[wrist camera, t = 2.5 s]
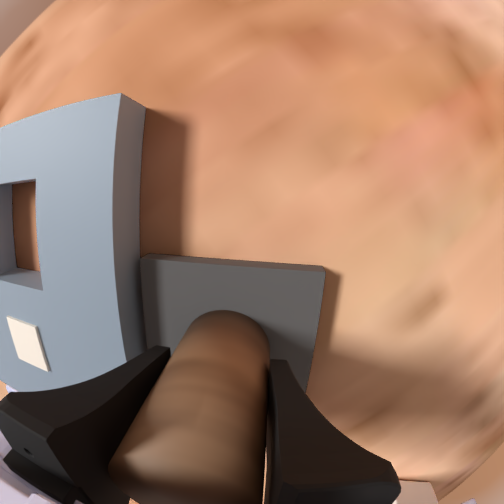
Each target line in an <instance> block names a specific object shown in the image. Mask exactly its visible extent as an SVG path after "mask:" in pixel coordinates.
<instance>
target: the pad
mask: <svg viewBox="0 0 504 504" xmlns="http://www.w3.org/2000/svg"><path fill="white" fill-rule="evenodd" d="M140 265H141V284H142V298H143V310H144V321H145V330H146V339H147V347H148V349H150V348H152V347H154V346H156V345H159V346H165V347H170V351H171V356H172V354H173V352H174V351H175V349H176V347H177V346H178V344H179V342H180V341H181V339H182V337H183V336H184V334H185V332H186V331H187V329H188V327H189V326H190V324H191V323H192V322H193V321H194V320H195V319H196V318H198V317H199V316H200V315H202V314H204V313H207V312H210V311H215V310H230V311H235V312H239V313H242V314H244V315H246V316H248V317H250V318H251V319H253V320H254V321H255V322H257V323H258V324H259V325H260V326H261V328H262V329H263V330H264V332H265V333H266V335H267V337H268V340H269V344H270V359H283V360H287V361H288V363H289V365H290V368H291V370H292V372H293V374H294V376H295V377H296V379H297V381H298V383H299V384H300V386H301V387H302V389H303V391H304V392H305V393H306V388H307V383H308V378H309V373H310V368H311V363H312V358H313V352H314V347H315V341H316V335H317V329H318V323H319V317H320V310H321V303H322V296H323V289H324V282H325V274H326V272H325V270H324V269H323V267H322V266H316V265H301V264H286V263H272V262H258V261H244V260H230V259H216V258H203V257H190V256H177V255H164V254H151V253H149V254H147V255H145V256H143V257H142V258H140ZM269 367H270V365H269Z"/></svg>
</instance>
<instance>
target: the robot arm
mask: <svg viewBox="0 0 504 504" xmlns="http://www.w3.org/2000/svg"><path fill="white" fill-rule="evenodd" d="M170 357H171V351H170V347H165V346H159V345H156V346H154V347H152V348H150V349H148V350H147V351H145V352H143V353H142V354H140V355H138V356H137V357H135V358H133V359H131V360H130V361H128V362H126V363H124V364H122V365H121V366H119V367H117V368H115V369H112V370H110V371H108V372H106V373H104V374H102V375H100V376H97V377H95V378H92V379H90V380H87V381H84V382H81V383H78V384H74V385H70V386H66V387H62V388H57V389H51V390H44V391H33V392H19V391H17V390H15V389H14V388H12V387H10V386H9V385H6V389H7V391H8V393H9V394H8V395H6V396H5V397H4V398H3V399H2V400H1V401H0V504H129V500H130V497H129V496H127V495H126V494H125V493H124V492H123V491H122V490H121V489H119V488H118V486H117V485H116V484H115V483H114V482H113V480H112V479H111V477H110V475H109V472H108V465H109V462H110V460H111V459H112V457H113V455H114V453H115V452H116V450H117V448H118V446H119V445H120V443H121V441H122V439H123V438H124V436H125V434H126V432H127V431H128V429H129V427H130V425H131V424H132V422H133V420H134V419H135V417H136V415H137V413H138V412H139V410H140V408H141V407H142V405H143V403H144V401H145V400H146V398H147V396H148V395H149V393H150V391H151V389H152V388H153V386H154V384H155V383H156V381H157V379H158V378H159V376H160V374H161V373H162V371H163V369H164V367H165V366H166V364H167V362H168V361H169V359H170ZM266 454H267V473H266V487H265V499H264V504H392V503H393V502H394V501H395V500H396V499H397V497H398V496H399V494H400V493H401V485H400V482H399V479H398V476H397V474H396V472H395V470H394V468H393V466H392V464H391V462H389V461H387V460H385V459H383V458H381V457H379V456H377V455H375V454H373V453H371V452H369V451H367V450H365V449H364V448H362V447H361V446H359V445H358V444H356V443H354V442H353V441H352V440H350V439H349V438H348V437H346V436H345V435H344V434H342V433H341V432H340V431H339V430H337V429H336V428H335V427H334V426H333V425H332V424H331V423H330V422H329V421H328V420H327V419H326V418H325V417H324V416H323V415H322V414H321V413H320V412H319V411H318V409H317V408H316V407H315V406H314V404H313V403H312V402H311V401H310V399H309V398H308V396H307V395H306V394H305V392H304V391H303V389H302V387H301V386H300V384H299V383H298V381H297V379H296V377H295V376H294V374H293V372H292V370H291V368H290V365H289V363H288V361H287V360H283V359H270V367H269V382H268V414H267V434H266ZM461 504H477V503H476V501H475V499H474V498H472V499H470V500H468V501H466V502H463V503H461Z"/></svg>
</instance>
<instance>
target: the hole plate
mask: <svg viewBox="0 0 504 504" xmlns="http://www.w3.org/2000/svg"><path fill="white" fill-rule="evenodd" d="M145 112H146V107H144V106H143V105H141V104H139V103H138V102H136V101H134V100H132V99H131V98H129V97H127V96H125V95H124V94H122V93H118V94H113V95H108V96H103V97H98V98H94V99H89V100H85V101H81V102H77V103H73V104H69V105H65V106H62V107H58V108H55V109H51V110H48V111H45V112H42V113H39V114H36V115H33V116H30V117H27V118H24V119H21V120H19V121H16V122H13V123H11V124H8V125H6V126H3V127H1V128H0V380H1V381H2V382H4V383H6V384H7V385H9V386H10V387H12V388H14V389H15V390H17V391H19V392H33V391H44V390H51V389H57V388H62V387H66V386H70V385H74V384H78V383H81V382H84V381H87V380H90V379H92V378H95V377H97V376H100V375H102V374H104V373H106V372H108V371H110V370H112V369H115V368H117V367H119V366H121V365H122V364H124V363H126V362H128V361H130V360H131V359H133V358H135V357H137V356H138V355H140V354H142V353H143V352H145V351H147V350H148V347H147V339H146V330H145V321H144V310H143V298H142V284H141V266H140V227H139V214H140V175H141V157H142V143H143V132H144V122H145ZM34 181H36V228H37V243H38V254H39V263H40V271H41V272H39V271H33V270H28V269H22V268H17V265H16V257H15V247H14V236H13V219H12V184H18V183H26V182H34Z"/></svg>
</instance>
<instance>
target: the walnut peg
mask: <svg viewBox="0 0 504 504" xmlns="http://www.w3.org/2000/svg"><path fill="white" fill-rule="evenodd" d="M269 365H270V344H269V340H268V337H267V335H266V333H265V332H264V330H263V329H262V328H261V326H260V325H259V324H258V323H257V322H255V321H254V320H253V319H251V318H250V317H248V316H246V315H244V314H242V313H239V312H235V311H230V310H215V311H210V312H207V313H204V314H202V315H200V316H199V317H198V318H196V319H195V320H194V321H193V322H192V323H191V324H190V326H189V327H188V329H187V331H186V332H185V334H184V336H183V337H182V339H181V341H180V342H179V344H178V346H177V347H176V349H175V351H174V352H173V354H172V356H171V357H170V359H169V361H168V362H167V364H166V366H165V367H164V369H163V371H162V373H161V374H160V376H159V378H158V379H157V381H156V383H155V384H154V386H153V388H152V389H151V391H150V393H149V395H148V396H147V398H146V400H145V401H144V403H143V405H142V407H141V408H140V410H139V412H138V413H137V415H136V417H135V419H134V420H133V422H132V424H131V425H130V427H129V429H128V431H127V432H126V434H125V436H124V438H123V439H122V441H121V443H120V445H119V446H118V448H117V450H116V452H115V453H114V455H113V457H112V459H111V460H110V462H109V465H108V472H109V475H110V477H111V479H112V480H113V482H114V483H115V484H116V485H117V486H118V488H119V489H121V490H122V491H123V492H124V493H125V494H126V495H127V496H129V497H130V498H132V499H133V500H134V501H136V502H138V503H139V504H262V501H263V486H264V470H265V453H266V434H267V414H268V382H269Z"/></svg>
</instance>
